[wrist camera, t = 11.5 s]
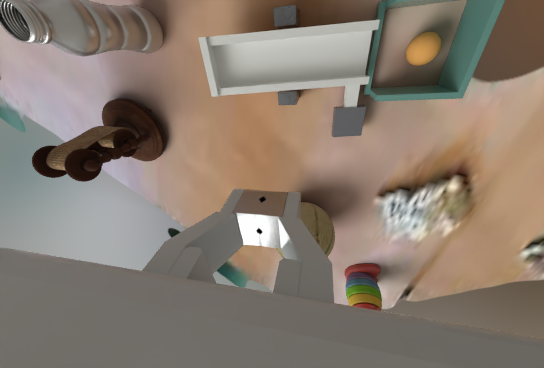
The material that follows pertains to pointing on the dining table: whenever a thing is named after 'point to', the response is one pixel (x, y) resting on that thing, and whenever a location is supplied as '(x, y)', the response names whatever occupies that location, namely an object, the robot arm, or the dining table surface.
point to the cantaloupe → (317, 226)
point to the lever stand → (283, 19)
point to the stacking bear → (363, 286)
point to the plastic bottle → (81, 25)
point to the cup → (461, 57)
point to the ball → (423, 48)
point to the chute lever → (295, 64)
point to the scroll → (104, 143)
